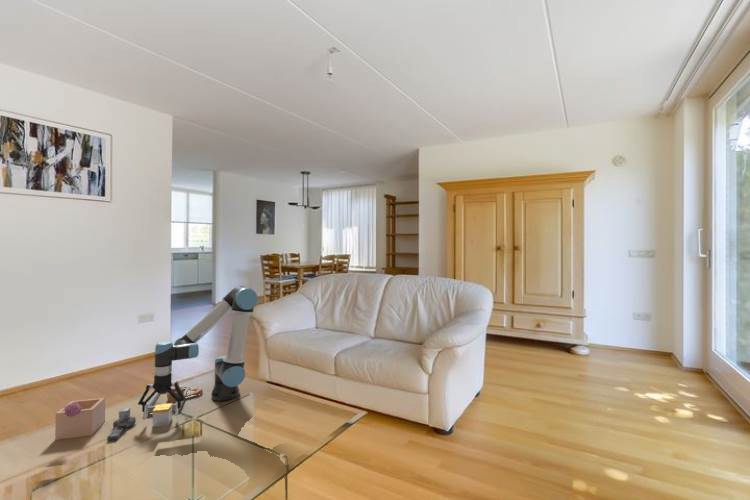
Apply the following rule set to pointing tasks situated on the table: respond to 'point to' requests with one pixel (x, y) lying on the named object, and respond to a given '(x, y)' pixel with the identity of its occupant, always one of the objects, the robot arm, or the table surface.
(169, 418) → the orange-topped grey block
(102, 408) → the open pinkish beige box
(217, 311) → the robot arm
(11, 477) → the table surface
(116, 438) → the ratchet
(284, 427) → the table surface
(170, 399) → the brown long-handled pot
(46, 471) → the table surface
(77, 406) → the artificial flower
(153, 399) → the frame
